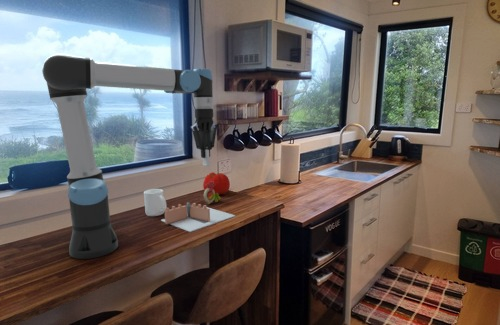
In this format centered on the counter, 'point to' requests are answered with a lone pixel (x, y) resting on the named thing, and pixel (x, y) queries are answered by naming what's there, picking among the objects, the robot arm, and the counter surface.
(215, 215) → the card
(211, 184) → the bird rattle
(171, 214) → the fence fixed
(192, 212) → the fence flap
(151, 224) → the counter surface
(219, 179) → the tomato
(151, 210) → the mug
